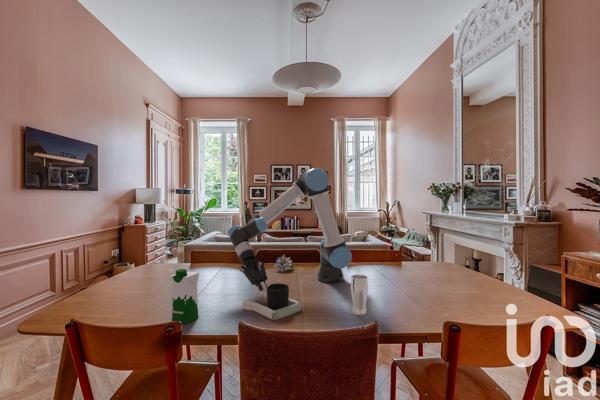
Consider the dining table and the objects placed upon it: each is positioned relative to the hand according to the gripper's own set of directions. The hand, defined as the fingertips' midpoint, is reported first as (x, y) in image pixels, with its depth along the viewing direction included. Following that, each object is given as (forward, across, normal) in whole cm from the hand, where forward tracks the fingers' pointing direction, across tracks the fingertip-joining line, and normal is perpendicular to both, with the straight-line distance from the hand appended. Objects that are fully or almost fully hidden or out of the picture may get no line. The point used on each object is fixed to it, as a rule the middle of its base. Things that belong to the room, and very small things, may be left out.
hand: (267, 296), depth 129 cm
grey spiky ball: (-26, -46, -33) cm, 62 cm away
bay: (+6, 0, 0) cm, 6 cm away
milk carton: (-5, +32, -11) cm, 34 cm away
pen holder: (+8, 0, +2) cm, 8 cm away
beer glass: (+27, -23, +20) cm, 40 cm away
